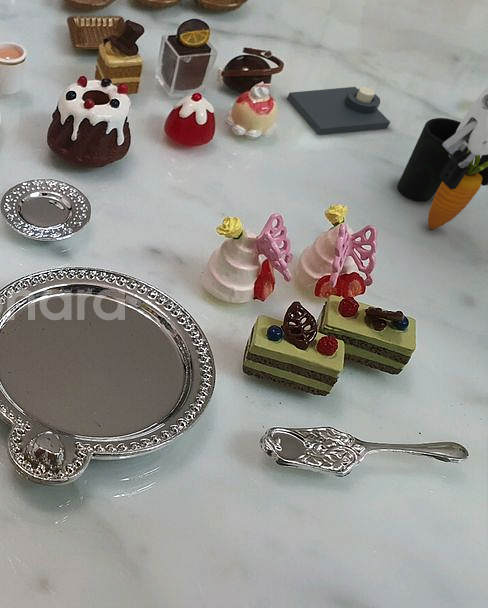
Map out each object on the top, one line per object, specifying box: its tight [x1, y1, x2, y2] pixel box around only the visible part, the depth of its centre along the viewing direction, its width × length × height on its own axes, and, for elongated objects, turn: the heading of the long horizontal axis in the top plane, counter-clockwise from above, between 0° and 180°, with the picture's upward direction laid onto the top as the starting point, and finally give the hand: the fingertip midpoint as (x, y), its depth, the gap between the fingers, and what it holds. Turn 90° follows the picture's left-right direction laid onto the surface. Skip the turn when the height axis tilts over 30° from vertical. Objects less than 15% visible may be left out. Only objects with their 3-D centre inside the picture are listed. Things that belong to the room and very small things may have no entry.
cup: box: [396, 117, 468, 203], centre depth 123 cm, size 8×8×12 cm
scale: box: [286, 86, 391, 136], centre depth 141 cm, size 14×12×3 cm
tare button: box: [356, 86, 376, 103], centre depth 140 cm, size 3×3×2 cm
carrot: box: [427, 150, 488, 230], centre depth 115 cm, size 5×5×15 cm
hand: (463, 180), depth 114 cm, fingers closed on carrot, 4 cm apart
